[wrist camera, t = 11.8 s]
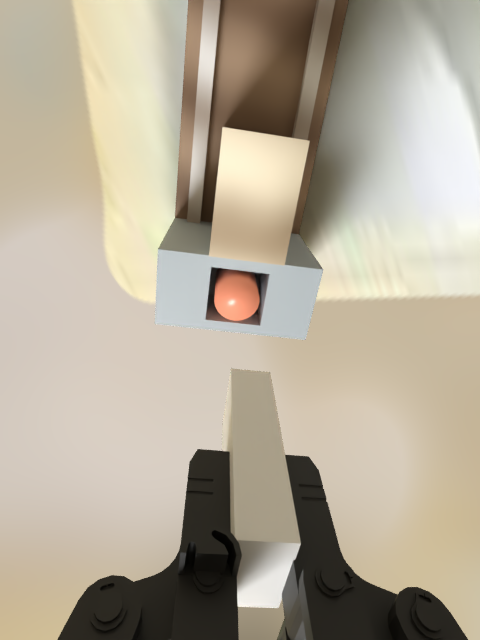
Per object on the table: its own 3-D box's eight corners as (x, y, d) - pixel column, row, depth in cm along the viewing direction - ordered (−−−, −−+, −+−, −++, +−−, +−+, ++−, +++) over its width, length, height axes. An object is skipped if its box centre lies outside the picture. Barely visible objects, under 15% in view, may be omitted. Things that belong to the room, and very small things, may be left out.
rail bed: (200, -158, 21) (195, -223, 17) (368, -119, 22) (399, -172, 18) (173, 271, 33) (166, 290, 29) (284, 284, 34) (292, 305, 30)
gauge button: (218, 256, 26) (216, 276, 22) (257, 261, 26) (263, 282, 23) (213, 293, 27) (211, 318, 24) (251, 297, 27) (255, 322, 24)
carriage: (223, 126, 26) (222, 127, 17) (278, 135, 27) (309, 140, 17) (214, 212, 29) (208, 256, 19) (264, 219, 30) (284, 265, 20)
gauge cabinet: (174, 213, 31) (154, 248, 22) (295, 229, 32) (323, 269, 23) (171, 270, 33) (151, 323, 24) (284, 284, 34) (305, 339, 25)
